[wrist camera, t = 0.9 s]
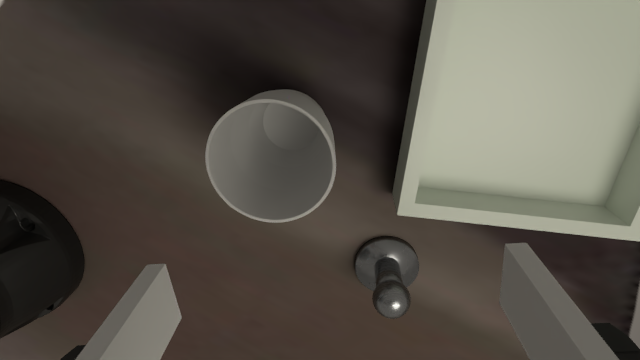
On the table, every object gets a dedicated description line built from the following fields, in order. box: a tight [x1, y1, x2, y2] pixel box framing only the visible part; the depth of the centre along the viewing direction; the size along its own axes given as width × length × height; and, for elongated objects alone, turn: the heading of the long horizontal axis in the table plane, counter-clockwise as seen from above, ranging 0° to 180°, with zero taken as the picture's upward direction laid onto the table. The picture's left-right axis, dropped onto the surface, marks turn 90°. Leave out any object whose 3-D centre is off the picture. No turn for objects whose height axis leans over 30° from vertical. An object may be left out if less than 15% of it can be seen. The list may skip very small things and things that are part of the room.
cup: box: [205, 89, 336, 222], centre depth 29 cm, size 8×8×10 cm
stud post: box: [355, 236, 419, 319], centre depth 35 cm, size 6×6×7 cm
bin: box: [392, 0, 640, 241], centre depth 30 cm, size 19×19×4 cm
